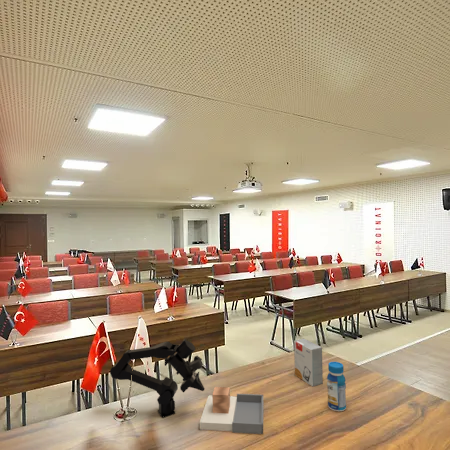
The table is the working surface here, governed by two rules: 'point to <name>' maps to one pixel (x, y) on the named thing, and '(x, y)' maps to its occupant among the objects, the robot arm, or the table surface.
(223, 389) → the block
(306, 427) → the table surface
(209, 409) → the cream slab
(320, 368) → the hard drive box
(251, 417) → the box
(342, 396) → the beverage bottle
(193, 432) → the table surface
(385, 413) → the table surface
